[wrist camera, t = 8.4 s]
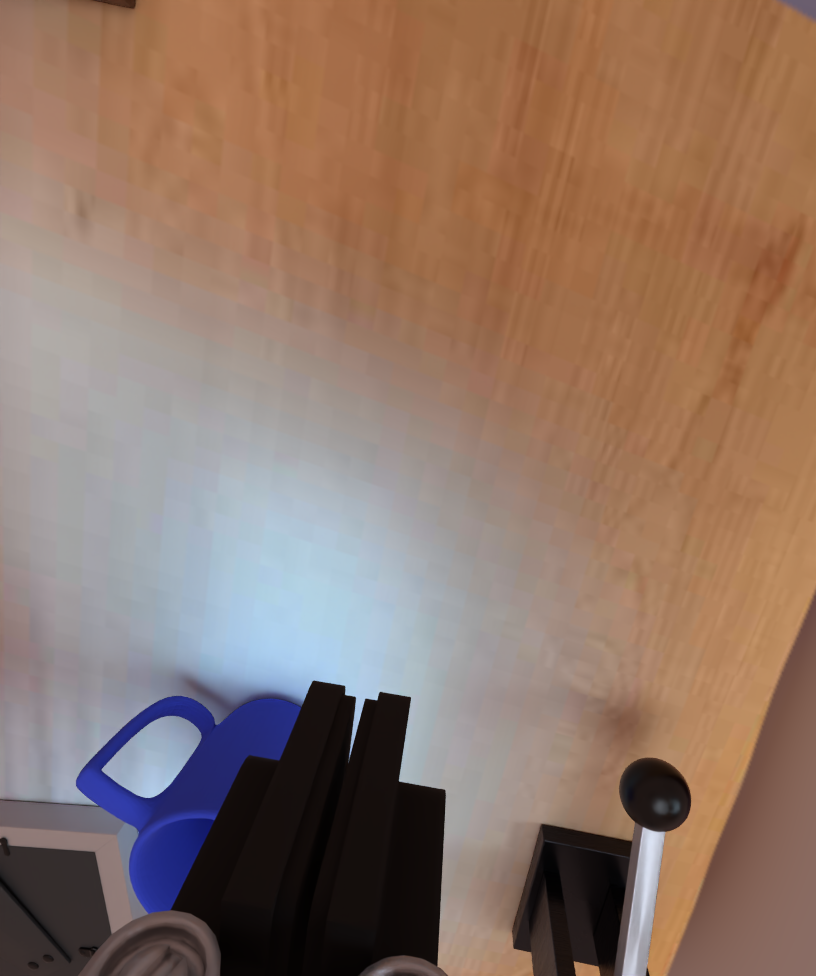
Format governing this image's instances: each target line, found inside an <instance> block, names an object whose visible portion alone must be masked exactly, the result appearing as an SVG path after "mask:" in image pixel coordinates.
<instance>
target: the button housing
mask: <svg viewBox="0 0 816 976" xmlns="http://www.w3.org/2000/svg"><path fill="white" fill-rule="evenodd" d="M96 1H101V2H106V3H111V4H116V5H121V6H126V7H131V8H134V6H135V0H96Z"/></svg>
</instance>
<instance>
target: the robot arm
mask: <svg viewBox="0 0 816 976" xmlns="http://www.w3.org/2000/svg"><path fill="white" fill-rule="evenodd" d="M410 701H411V697H407V696H401V695H395V694H389V693H383V692H380V693H379V696H378V700H377V701H376V700H370V699H365V702H364V706H363V710H362V713H361V717H360V721H359V725H358V729H357V732H356V736H355V740H354V744H353V748H352V751H351V755H350V759H349V753H350V745H351V737H352V728H353V720H354V712H355V703H356V697H353V696H347V695H345V686H342V685H336V684H331V683H325V682H319V681H313V682H312V684H311V686H310V688H309V690H308V693H307V695H306V698H305V700H304V702H303V705H302V707H301V710H300V712H299V714H298V717H297V719H296V722H295V724H294V727H293V729H292V731H291V734H290V736H289V739H288V741H287V743H286V746H285V748H284V751H283V753H282V756H281V758H280V760H275V759H269V758H263V757H258V756H252V755H249V756H248V757H247V758H246V759H245V760H244V762H243V764H242V765H241V767H240V770H239V772H238V774H237V776H236V778H235V780H234V782H233V784H232V786H231V788H230V790H229V792H228V794H227V796H226V798H225V800H224V802H223V804H222V806H221V808H220V810H219V812H218V814H217V816H216V818H215V820H214V822H213V824H212V826H211V829H210V831H209V833H208V835H207V837H206V839H205V841H204V843H203V845H202V847H201V849H200V851H199V853H198V855H197V857H196V859H195V861H194V863H193V865H192V867H191V869H190V871H189V873H188V875H187V877H186V879H185V881H184V883H183V885H182V887H181V890H180V892H179V894H178V896H177V898H176V900H175V902H174V904H173V906H172V908H171V910H170V911H162V912H153V913H150V914H147V915H145V916H142V917H139V918H137V919H134V920H132V921H130V922H129V923H127V924H126V925H124V926H123V927H121V928H120V929H119V930H117V931H116V932H114V933H113V934H112V935H111V936H110V937H109V938H108V939H107V940H106V941H105V942H104V943H103V944H102V945H101V947H100V948H99V949H98V950H97V951H96V952H95V953H94V955H93V956H92V958H91V959H90V960H89V962H88V963H87V964H86V966H85V967H84V968H83V970H82V971H81V972H80V974H79V975H78V976H448V975H447V974H446V973H445V972H444V971H443V970H442V969H441V968H439V967H437V963H438V943H439V923H440V902H441V882H442V862H443V841H444V821H445V799H446V793H445V790H443V789H437V788H432V787H426V786H420V785H415V784H409V783H404V782H399V775H400V769H401V762H402V755H403V748H404V742H405V735H406V728H407V722H408V715H409V708H410ZM348 761H349V763H348Z"/></svg>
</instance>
